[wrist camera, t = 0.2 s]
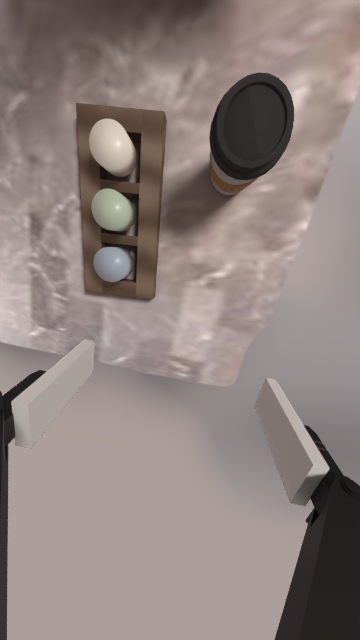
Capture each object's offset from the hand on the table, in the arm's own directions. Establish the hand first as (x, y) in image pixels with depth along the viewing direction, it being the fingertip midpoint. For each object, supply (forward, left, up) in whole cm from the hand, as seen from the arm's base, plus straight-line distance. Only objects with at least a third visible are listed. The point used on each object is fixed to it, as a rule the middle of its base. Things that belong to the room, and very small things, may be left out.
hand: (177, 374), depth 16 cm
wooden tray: (-13, -13, -27) cm, 33 cm away
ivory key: (-21, -13, -24) cm, 35 cm away
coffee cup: (-21, +4, -27) cm, 35 cm away
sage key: (-13, -13, -24) cm, 31 cm away
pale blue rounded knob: (-5, -13, -24) cm, 28 cm away
